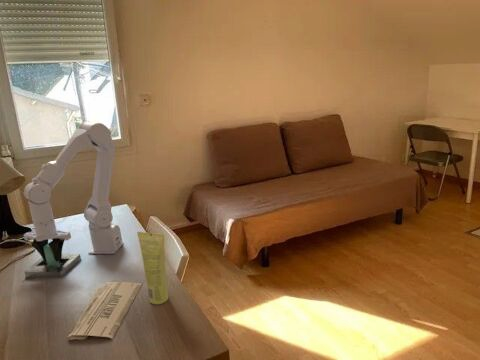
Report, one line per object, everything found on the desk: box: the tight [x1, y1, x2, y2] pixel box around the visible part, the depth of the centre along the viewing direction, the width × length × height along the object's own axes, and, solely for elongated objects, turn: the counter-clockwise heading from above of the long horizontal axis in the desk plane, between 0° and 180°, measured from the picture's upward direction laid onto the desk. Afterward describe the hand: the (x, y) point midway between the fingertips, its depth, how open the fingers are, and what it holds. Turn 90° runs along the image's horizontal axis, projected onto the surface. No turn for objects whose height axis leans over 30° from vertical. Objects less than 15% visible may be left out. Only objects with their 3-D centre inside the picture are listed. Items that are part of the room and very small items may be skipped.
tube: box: [137, 231, 169, 305], centre depth 93 cm, size 6×5×20 cm
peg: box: [43, 244, 61, 267], centre depth 114 cm, size 3×3×8 cm
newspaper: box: [67, 281, 143, 341], centre depth 92 cm, size 23×12×2 cm, turn 177°
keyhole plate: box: [24, 253, 82, 279], centre depth 115 cm, size 12×11×2 cm
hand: (53, 259), depth 114 cm, fingers closed on peg, 3 cm apart
